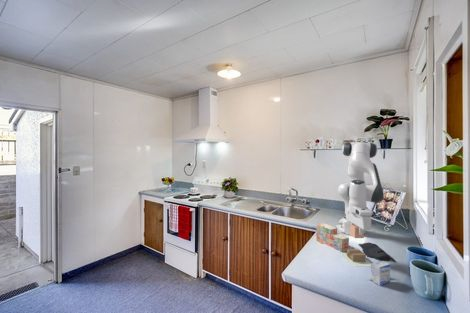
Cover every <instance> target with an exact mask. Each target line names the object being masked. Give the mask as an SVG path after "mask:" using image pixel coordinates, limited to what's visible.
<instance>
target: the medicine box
mask: <svg viewBox="0 0 470 313" xmlns="http://www.w3.org/2000/svg"><path fill="white" fill-rule="evenodd" d="M371 263H372V264H371V266H370V281H371V282H373V283H374V284H376V285H378V286H382V285H384V284H388V283H390V282H391V264H390V263H388V262H387V261H382V260H378V261H375V262H371Z"/></svg>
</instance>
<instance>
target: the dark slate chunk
mask: <svg viewBox="0 0 470 313" xmlns="http://www.w3.org/2000/svg"><path fill="white" fill-rule="evenodd" d="M358 247H360V248H361V251H362V252H363V253H364V254H365V255H366V258H370V259H375V260H377V261H384V262H389V261H392V262H394V263H396V260H395V259H394V258H393V256H391V255H390V254H388V253H387V252H386V251H385V250H384V249H382V248H381V246H379V245H378V244H376V243H372V242H364V243H358Z"/></svg>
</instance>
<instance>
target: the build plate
mask: <svg viewBox="0 0 470 313" xmlns="http://www.w3.org/2000/svg"><path fill="white" fill-rule="evenodd" d="M338 253H340V255H341V256H342V257H343V258H344V259H345V260H346V261H347V262H348V263H349V264H350V265H351V266H352V267H371V264H372V263H373V262H371V261H370V260H368V259H367V258H366V262H353V261H352V260H351V259H350V258H349V257H348V256H347V251H345V252H340V251H338Z"/></svg>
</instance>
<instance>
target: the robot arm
mask: <svg viewBox="0 0 470 313" xmlns="http://www.w3.org/2000/svg"><path fill="white" fill-rule="evenodd" d="M341 152H342V154H343V155H344V156H345V157H349V159H348V163H347V164H348V165H347V166H348V167H347V172H346V173H347V175H348V177H349V178H350V180H351V181H350V182H344V183H342V184H341V183H340V184H339V186H338V187H337V192H338V194H339V196H341V198H342V199H343V201H344V213H343V217H342V218H340V219H339V221H338V224H336V225H335V228H337V231H339V233H340V234H341V233H342V234H347V235H350V225H356V226H358V227H359V231H358V234H359V235H362V232H363V230H364V234H365V233H366V231H370V230H371V229H372V214H373V213H372V211H371V210H370V208H368V207H367V202H369V203H370V202H371V203H374V204H375V203H376V204H379V203H381V202H382V201H384V198H385V191H384V189H383V187H382V183H381V179H380V175H379V171H378V167H377V164H376V163H374V162H373V161H372V160H371V159H373V158H374V157H376V156H377V153H378V147H377V144H376V143H373V142H364V141H356V142H355V141H352V142H350V141H347V142H344V143H343V145H342V147H341ZM365 173H366V174H367V175H369V176H370V177H371V178H370V179H371V183H372V185H371V184H367V183H366V180H365ZM350 236H351V235H350Z"/></svg>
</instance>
